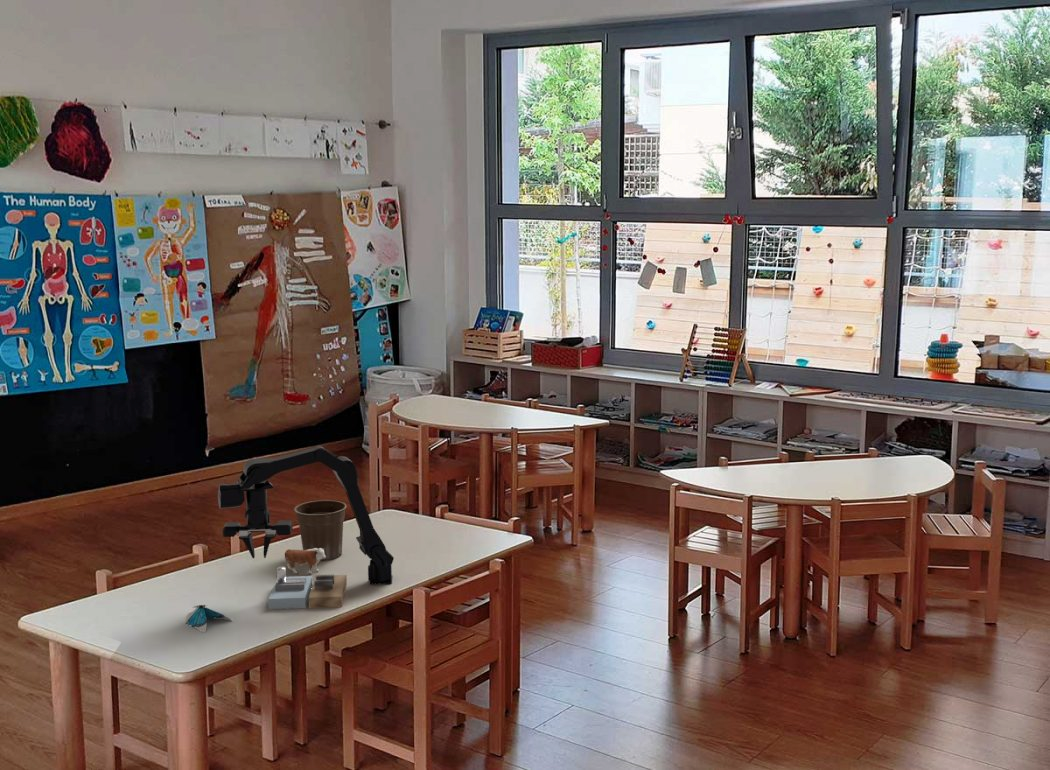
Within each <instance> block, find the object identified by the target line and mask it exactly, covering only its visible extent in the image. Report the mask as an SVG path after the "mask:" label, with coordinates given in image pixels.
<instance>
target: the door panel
mask: <svg viewBox="0 0 1050 770" xmlns="http://www.w3.org/2000/svg"><path fill="white" fill-rule="evenodd" d="M297 579H305V582H306V585H305V587H304V583H292V584H276V582H277V579H276V581H275V582H274V585H273V587H272V590H271V591H270V595H269V597H268V599H267V600H268V609H269V610H282V608H283V609H284V608H285V609H284V610H286V609H288V610H290V609H291V608H292V609H306V607H307V604H308V602H309V595H310V592H311V588H312V586H313V575H303V576H302V575H297V576H286V580H297Z"/></svg>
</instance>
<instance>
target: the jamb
mask: <svg viewBox="0 0 1050 770" xmlns="http://www.w3.org/2000/svg"><path fill="white" fill-rule="evenodd" d="M347 580H348V578H347V574H316V575H315V576H314V579H313V581H312V583H313V586H312V589H311V592H310V595H309V598H308V608H309V609H315V608H319V609H321V608H342V607H343V602H344V598H345V595H346V594H345V593H346V590H347V586H348V582H347ZM344 594H345V595H344Z"/></svg>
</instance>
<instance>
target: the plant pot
mask: <svg viewBox="0 0 1050 770" xmlns="http://www.w3.org/2000/svg"><path fill="white" fill-rule="evenodd" d="M346 509H347V504H346V503H345V502H342V501H338V500H332V499H321V500H320V499H319V500H313V501H311V500H310V501H308V502H303V503H301V504H298V505H296V506H295V507H294V510H293V511H294V512H295V514H296V520H297V523H298V526H299V532H300V538H301V545H302V550H309V549H314V548H317V549H319V548H322V549H324V548H325V550H324V554H325V556H326V558H325V559H320V562H323V561H324V562H326V560H327V561H331V560H334V559H337V558H339V557H340V556H342V555H343V538H344V537H343V536H344V535H343V534H344V533H343V531H344V520H345V517H346V516H345V515H346V514H345V513H346Z"/></svg>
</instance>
